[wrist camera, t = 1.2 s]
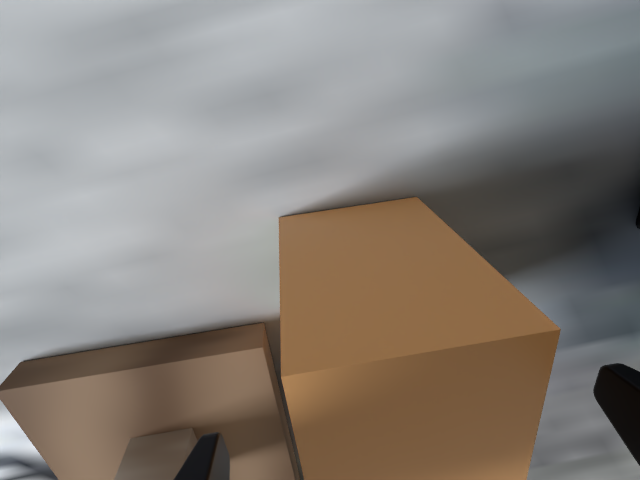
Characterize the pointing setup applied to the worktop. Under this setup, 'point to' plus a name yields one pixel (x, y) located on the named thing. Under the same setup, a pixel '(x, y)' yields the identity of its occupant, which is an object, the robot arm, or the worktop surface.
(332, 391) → the kraft paper carton
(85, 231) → the worktop surface
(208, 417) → the wooden holder
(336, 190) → the worktop surface
